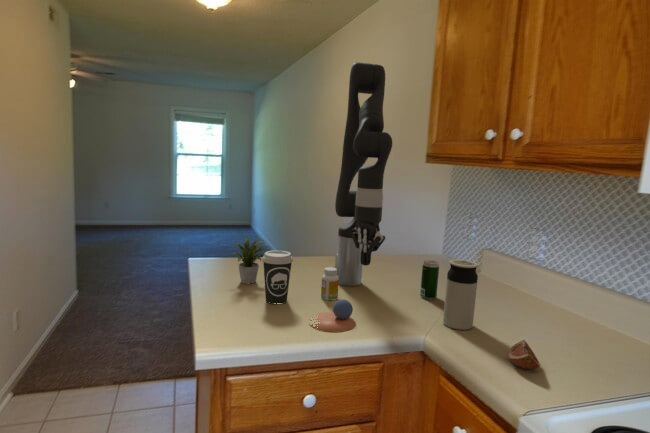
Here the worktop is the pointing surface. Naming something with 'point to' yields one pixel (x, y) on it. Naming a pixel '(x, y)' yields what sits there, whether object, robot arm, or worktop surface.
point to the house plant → (249, 261)
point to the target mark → (333, 323)
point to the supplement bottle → (329, 284)
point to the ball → (342, 309)
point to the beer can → (429, 279)
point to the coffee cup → (277, 275)
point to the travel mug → (460, 294)
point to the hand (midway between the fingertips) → (365, 264)
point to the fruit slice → (523, 355)
